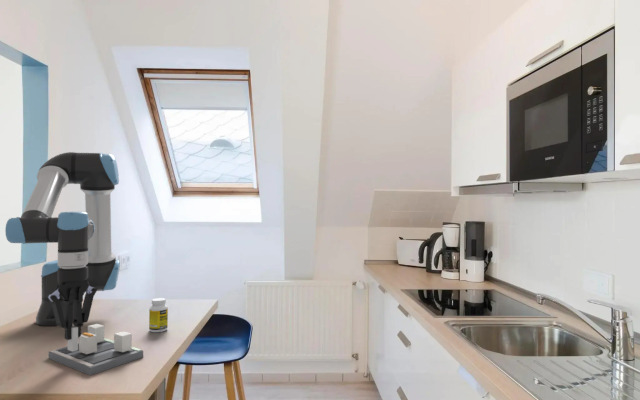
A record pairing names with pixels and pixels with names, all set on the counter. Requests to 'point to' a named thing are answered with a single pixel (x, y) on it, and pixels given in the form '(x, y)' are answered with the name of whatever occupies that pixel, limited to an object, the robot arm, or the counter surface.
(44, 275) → the robot arm
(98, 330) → the breaker far
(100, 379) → the counter surface
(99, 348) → the panel
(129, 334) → the block
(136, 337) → the counter surface
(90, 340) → the breaker mid
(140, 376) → the counter surface
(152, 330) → the pill bottle
